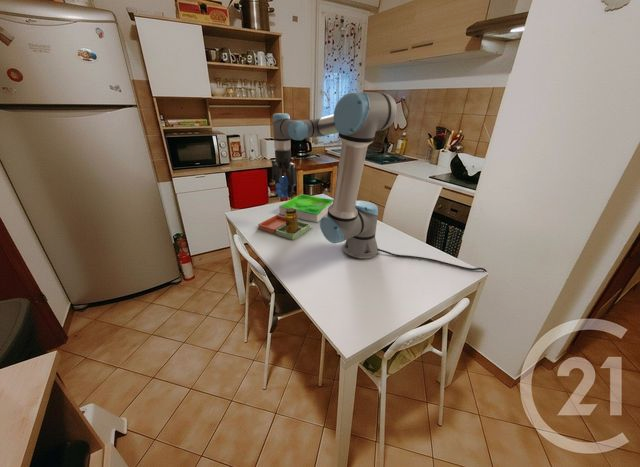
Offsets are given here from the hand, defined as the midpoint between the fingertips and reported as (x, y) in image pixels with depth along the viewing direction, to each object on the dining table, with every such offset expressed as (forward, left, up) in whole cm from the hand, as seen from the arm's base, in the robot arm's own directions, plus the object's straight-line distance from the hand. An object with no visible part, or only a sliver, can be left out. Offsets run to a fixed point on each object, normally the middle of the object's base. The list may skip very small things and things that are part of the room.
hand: (285, 195), depth 134 cm
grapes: (0, 0, -1) cm, 1 cm away
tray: (+3, -24, -18) cm, 30 cm away
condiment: (-7, +3, -17) cm, 19 cm away
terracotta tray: (+5, +3, -18) cm, 19 cm away
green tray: (-7, +3, -18) cm, 19 cm away
